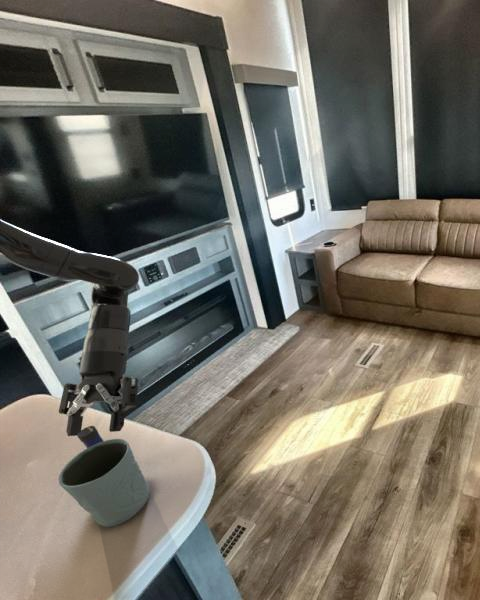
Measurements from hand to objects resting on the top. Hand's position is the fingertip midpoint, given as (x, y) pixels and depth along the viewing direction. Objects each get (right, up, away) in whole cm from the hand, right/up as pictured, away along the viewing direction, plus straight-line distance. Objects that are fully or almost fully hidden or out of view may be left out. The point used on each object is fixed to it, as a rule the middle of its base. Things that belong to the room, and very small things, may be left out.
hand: (94, 433), depth 72 cm
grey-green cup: (+9, -12, -3) cm, 15 cm away
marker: (+1, -9, +4) cm, 10 cm away
